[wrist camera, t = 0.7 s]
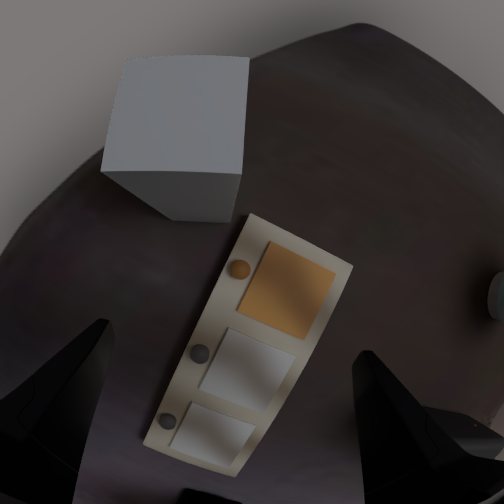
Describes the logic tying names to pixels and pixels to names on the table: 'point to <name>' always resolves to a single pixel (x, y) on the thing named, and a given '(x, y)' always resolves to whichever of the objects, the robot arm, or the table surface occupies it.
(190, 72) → the block
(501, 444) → the leaning round-cornered charcoal block
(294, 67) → the table surface
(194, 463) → the switch board
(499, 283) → the coffee cup
